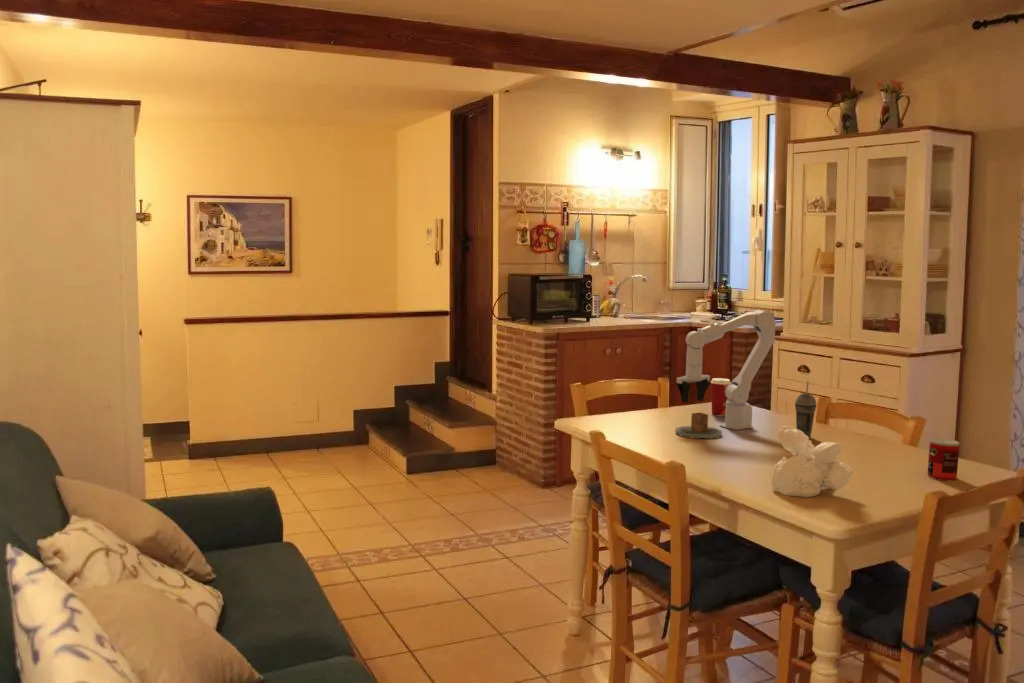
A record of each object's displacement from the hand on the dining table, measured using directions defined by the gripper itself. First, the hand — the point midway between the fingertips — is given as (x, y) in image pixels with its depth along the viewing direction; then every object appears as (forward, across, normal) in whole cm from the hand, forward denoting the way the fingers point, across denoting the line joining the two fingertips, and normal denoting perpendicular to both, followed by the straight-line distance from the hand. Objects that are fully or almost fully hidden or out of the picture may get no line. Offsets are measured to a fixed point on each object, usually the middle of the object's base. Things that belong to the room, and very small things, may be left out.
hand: (692, 401), depth 331 cm
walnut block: (+8, -6, -10) cm, 14 cm away
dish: (+9, -6, -10) cm, 15 cm away
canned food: (+10, +18, -87) cm, 89 cm away
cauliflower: (+10, -29, -78) cm, 84 cm away
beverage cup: (+10, +24, -31) cm, 40 cm away
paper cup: (+10, +26, +12) cm, 30 cm away
